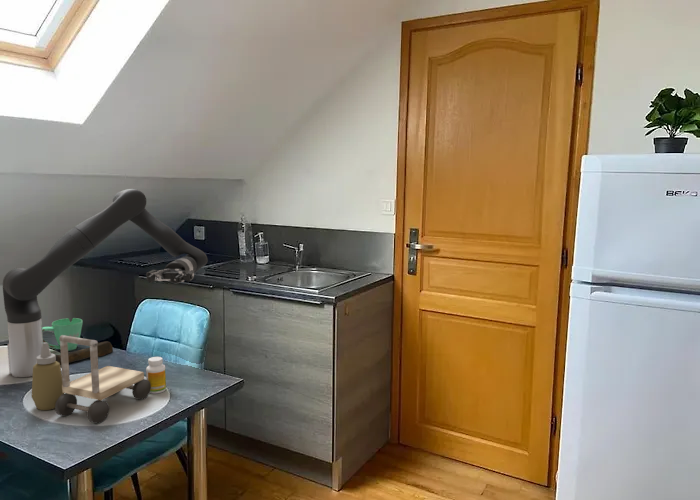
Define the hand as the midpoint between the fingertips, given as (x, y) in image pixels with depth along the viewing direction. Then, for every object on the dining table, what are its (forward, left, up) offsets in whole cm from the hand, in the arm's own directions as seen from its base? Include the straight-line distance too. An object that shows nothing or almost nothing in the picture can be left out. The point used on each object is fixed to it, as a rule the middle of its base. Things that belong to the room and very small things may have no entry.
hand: (163, 279), depth 177 cm
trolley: (+2, -28, -30) cm, 41 cm away
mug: (-47, +2, -30) cm, 56 cm away
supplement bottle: (+8, -14, -30) cm, 34 cm away
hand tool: (-33, -1, -30) cm, 45 cm away
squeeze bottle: (-12, -34, -30) cm, 47 cm away
